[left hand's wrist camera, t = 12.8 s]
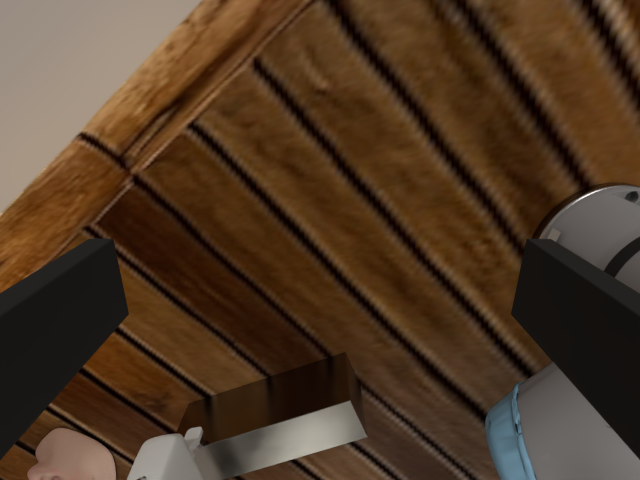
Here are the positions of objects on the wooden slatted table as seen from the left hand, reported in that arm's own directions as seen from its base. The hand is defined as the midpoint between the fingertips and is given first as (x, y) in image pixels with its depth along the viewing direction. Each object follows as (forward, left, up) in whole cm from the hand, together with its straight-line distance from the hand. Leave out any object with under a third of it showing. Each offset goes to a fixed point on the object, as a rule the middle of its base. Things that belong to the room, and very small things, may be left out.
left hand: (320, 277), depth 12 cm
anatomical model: (-6, +56, -28) cm, 63 cm away
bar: (-18, +26, -28) cm, 43 cm away
